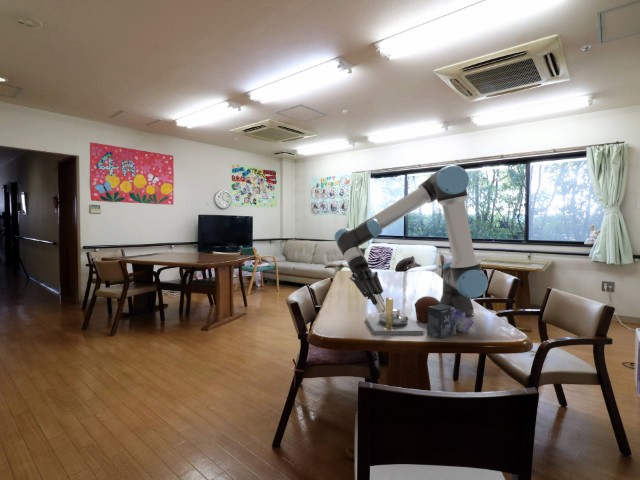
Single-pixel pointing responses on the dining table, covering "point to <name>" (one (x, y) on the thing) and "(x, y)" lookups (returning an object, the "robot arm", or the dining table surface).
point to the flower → (461, 322)
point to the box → (440, 321)
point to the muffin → (424, 308)
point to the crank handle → (392, 315)
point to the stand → (393, 328)
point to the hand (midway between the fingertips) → (383, 311)
